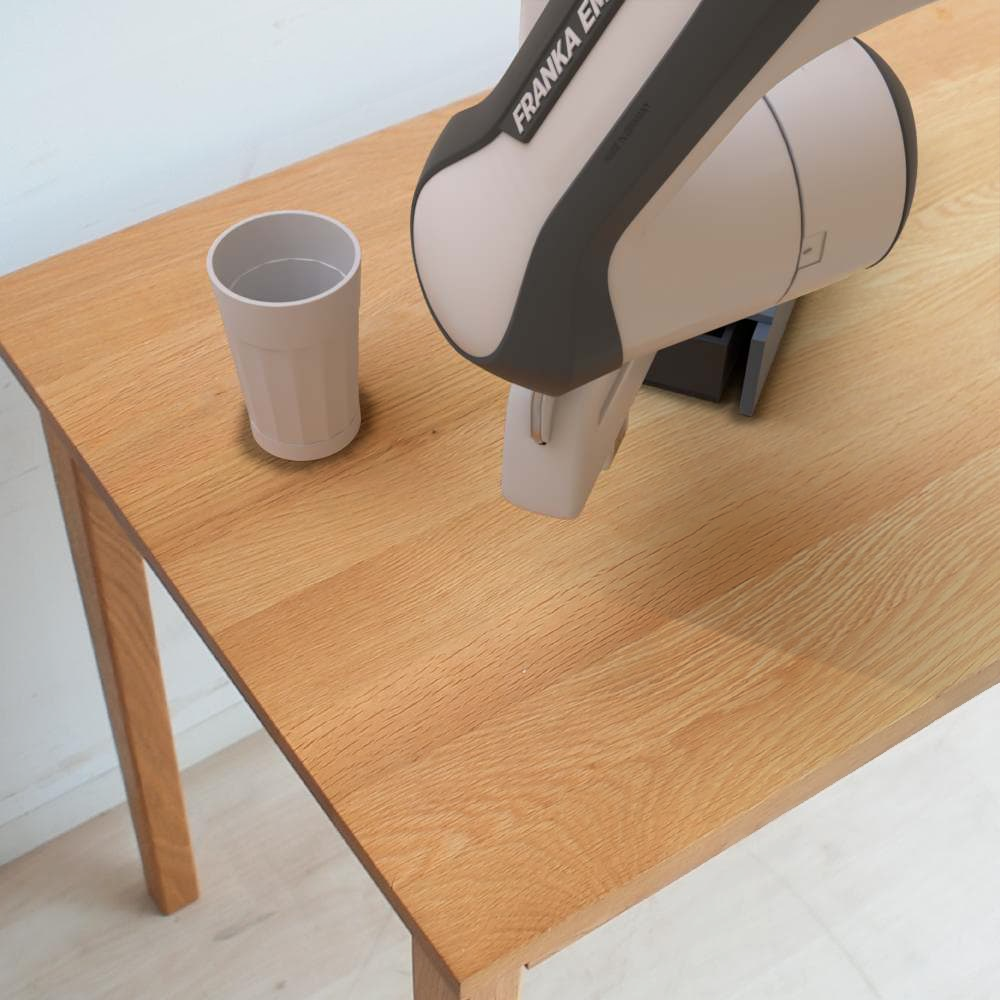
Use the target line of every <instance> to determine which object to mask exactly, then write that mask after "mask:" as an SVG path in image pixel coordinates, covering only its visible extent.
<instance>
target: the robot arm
mask: <svg viewBox="0 0 1000 1000" xmlns="http://www.w3.org/2000/svg"><path fill="white" fill-rule="evenodd" d="M936 2H939V0H520V10H519V11H520V12H519V31H518V51H517V53H516V54H515V56H514V57H513V59H512V61H511V63H510V65H509V66H508V67H507V68H506V71H505V73H504V74H503V75H502V77H501V78H500V80H499V81H498V83H497V84H496V85H495V86H494V88H493V90H492V91H490V93H489V94H488V95H487V96H486V97H484V98H483V100H481V101H480V102H478V103H476V104H474V105H473V106H470V107H467V108H465V109H462V110H461V111H458V112H456V113H455V114H453V115H452V116H451V117H450V119H449V120H447V121H448V122H447V123H446V124H445V126H444V128H443V129H442V131H441V133H440V134H439V136H438V138H437V139H436V141H435V142H434V145H433V146H432V148H431V150H430V152H429V154H428V156H427V158H426V160H425V163H424V166H423V167H422V170H421V173H420V175H419V178H418V180H417V183H416V186H415V189H414V192H413V195H412V199H411V206H410V217H409V218H410V219H409V233H410V235H409V236H410V246H411V247H410V248H411V254H412V259H413V264H414V269H415V273H416V277H417V279H418V284H419V288H420V290H421V293H422V295H423V298H424V302H425V304H426V306H427V308H428V310H429V313H430V316H431V317H432V318H433V321H434V322H435V324H436V326H437V328H438V329H439V331H440V333H441V335H442V336H443V337H444V339H445V340H446V341H447V343H448V344H449V345H450V346H451V347H452V348H453V350H454V351H455V352H457V353H458V354H459V355H460V356H461V357H463V358H464V359H465V360H467V361H469V362H470V363H472V364H473V365H476V366H477V367H478V368H480V369H482V370H484V371H486V372H487V373H489V374H491V375H493V376H495V377H498V378H500V379H502V380H504V381H506V382H508V383H510V388H509V392H508V397H507V402H506V410H505V417H504V429H503V431H504V432H503V440H502V441H503V443H502V458H501V474H500V475H501V476H500V477H501V478H500V489H501V495H502V497H503V498H504V500H505V501H506V502H507V503H509V504H510V505H512V506H514V507H517V508H518V509H521V510H524V511H527V512H529V513H533V514H536V515H538V516H539V515H540V516H544V517H549V518H551V519H552V518H553V519H558V520H565V521H572V520H577V518H578V517H579V516H580V515H581V514H582V512H583V510H584V509H585V506H586V504H587V501H588V499H589V496H590V495H591V493H592V491H593V489H594V486H595V484H596V483H597V480H598V478H599V476H600V475H601V474H600V473H601V472H602V471H608V470H609V469H610V468H611V466H612V464H613V462H614V460H615V457H616V456H617V453H618V451H619V448H620V446H621V444H622V442H623V440H624V438H625V436H626V434H627V432H628V430H629V429H628V428H629V420H630V419H629V418H630V410H631V408H632V406H633V404H634V402H635V399H636V397H637V396H638V393H639V391H640V389H641V387H642V384H643V383H642V382H643V380H644V378H645V376H646V374H647V372H648V370H649V368H650V365H651V363H652V361H653V359H654V357H655V355H656V353H657V351H658V350H660V349H663V348H666V347H668V346H671V345H674V344H676V343H679V342H682V341H685V340H687V339H690V338H693V337H695V336H698V335H701V334H703V333H706V332H709V331H711V330H714V329H717V328H719V327H722V326H725V325H727V324H730V323H733V322H736V321H738V320H741V319H744V318H746V317H749V316H752V315H754V314H757V313H760V312H762V311H765V310H766V309H768V308H771V307H773V306H776V305H779V304H781V303H784V302H787V301H789V300H792V299H795V298H797V299H798V298H800V297H803V296H805V295H808V294H811V293H813V292H816V291H818V290H821V289H823V288H825V287H828V286H831V285H834V284H837V283H838V282H842V281H843V280H846V279H847V278H850V277H851V276H854V275H856V274H858V273H860V272H862V271H864V270H868V269H871V268H874V267H875V266H876V265H878V264H879V263H881V262H882V261H883V260H884V259H885V258H886V257H887V256H888V255H889V254H890V252H891V251H892V249H893V248H894V246H895V245H896V243H897V241H898V240H899V238H900V236H901V235H902V232H903V231H904V228H905V226H906V223H907V220H908V218H909V215H910V212H911V209H912V206H913V202H914V197H915V193H916V185H917V179H918V164H919V154H918V153H919V152H918V150H919V149H918V148H919V147H918V135H917V127H916V126H917V125H916V119H915V116H914V111H913V107H912V103H911V100H910V97H909V94H908V92H907V91H906V88H905V86H904V84H903V82H902V81H901V80H900V78H899V77H898V75H897V73H895V71H894V70H893V69H892V67H891V66H890V64H888V62H887V61H886V60H885V59H884V58H883V57H882V56H881V55H880V54H879V53H878V52H876V51H875V49H873V48H872V47H871V46H870V45H868V44H867V43H866V42H864V41H863V40H861V39H860V38H858V37H857V36H860V35H861V34H863V33H866V32H868V31H870V30H872V29H874V28H876V27H878V26H881V25H883V24H885V23H887V22H889V21H892V20H894V19H896V18H899V17H901V16H904V15H906V14H908V13H911V12H913V11H916V10H918V9H920V8H923V7H925V6H928V5H931V4H933V3H936Z"/></svg>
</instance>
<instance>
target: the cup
mask: <svg viewBox="0 0 1000 1000" xmlns="http://www.w3.org/2000/svg"><path fill="white" fill-rule="evenodd" d="M206 271H207V274H208V278H209V281H210V284H211V288H212V291H213V294H214V298H215V301H216V305H217V308H218V311H219V314H220V317H221V321H222V325H223V328H224V332H225V336H226V339H227V343H228V346H229V350H230V353H231V356H232V360H233V364H234V367H235V371H236V375H237V378H238V381H239V385H240V389H241V392H242V396H243V399H244V402H245V406H246V410H247V414H248V417H249V418H248V419H249V424H250V428H251V429H250V430H251V435H252V436H253V439H254V440H255V442H256V443H257V445H258V446H259V447H260V448H261V449H263V450H264V451H265V452H267V453H268V454H270V455H272V456H274V457H277V458H280V459H283V460H288V461H294V462H308V461H309V462H311V461H316V460H320V459H324V458H328V457H330V456H333V455H334V454H336V453H338V452H340V451H342V450H343V449H344V448H346V447H347V446H348V445H350V444H351V443H352V441H354V439H355V438H356V436H357V434H358V433H359V430H360V428H361V424H362V415H361V404H360V396H359V376H360V375H359V371H360V370H359V367H360V366H359V362H360V360H359V355H360V353H359V352H360V350H359V349H360V348H359V347H360V342H359V341H360V307H361V292H362V291H361V288H362V287H361V286H362V246H361V244H360V241H359V239H358V237H357V236H356V234H355V233H354V232H353V231H352V230H351V229H350V228H349V227H348V226H347V225H345V224H344V223H343V222H341V221H339V220H338V219H336V218H333V217H331V216H329V215H325V214H322V213H319V212H314V211H309V210H302V209H301V210H300V209H282V210H281V209H280V210H273V211H266V212H262V213H257V214H254V215H252V216H249V217H247V218H244V219H242V220H239V221H237V222H236V223H234V224H232V225H231V226H229V227H228V228H227V229H225V230H224V231H222V232H221V233H220V234H219V235H218V236H217V237H216V239H215V240H214V241H213V243H212V244H211V246H210V248H209V249H208V252H207V255H206Z"/></svg>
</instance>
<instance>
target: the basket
mask: <svg viewBox="0 0 1000 1000" xmlns="http://www.w3.org/2000/svg"><path fill="white" fill-rule="evenodd" d="M751 323H752V320H751V319H746V318H744V319H741V320H738V321H736V322H733V323H730V324H727V325H725V326H722V327H719V328H717V329H714V330H711V331H709V332H706V333H703V334H701V335H698V336H695V337H693V338H690V339H687V340H685V341H682V342H679V343H676V344H674V345H671V346H668V347H666V348H663V349H660V350H658V351H657V353H656V355H655V357H654V359H653V361H652V363H651V365H650V368H649V370H648V372H647V374H646V376H645V378H644V380H643V382H642V384H644V385H647V386H651V387H655V388H660V389H663V390H667V391H671V392H675V393H678V394H683V395H687V396H690V397H694V398H698V399H702V400H706V401H709V402H714V403H719V402H720V400H721V398H722V395H723V393H724V391H725V388H726V385H727V382H728V380H729V377H730V375H731V372H732V370H733V367H734V366H735V362H736V360H737V358H738V355H739V353H740V350H741V348H742V345H743V343H744V340H745V339H746V338H745V337H746V336H747V333H748V331H749V328H750V325H751Z"/></svg>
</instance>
